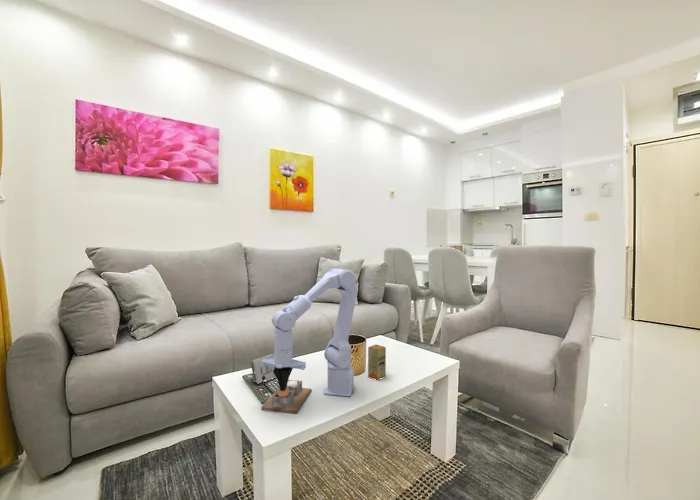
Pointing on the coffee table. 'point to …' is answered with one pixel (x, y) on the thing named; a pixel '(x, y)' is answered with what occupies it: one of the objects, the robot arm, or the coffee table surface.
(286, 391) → the plug terracotta
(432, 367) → the coffee table surface
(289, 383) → the plug cream
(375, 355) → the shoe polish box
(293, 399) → the panel
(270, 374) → the electrical switch
